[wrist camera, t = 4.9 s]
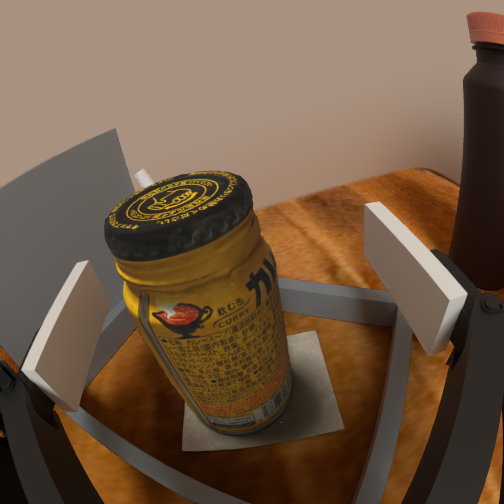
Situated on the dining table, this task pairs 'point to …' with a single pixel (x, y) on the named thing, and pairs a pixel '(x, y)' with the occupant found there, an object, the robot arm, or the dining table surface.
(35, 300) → the grey holder frame
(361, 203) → the dining table surface
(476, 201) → the bottle
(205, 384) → the condiment
